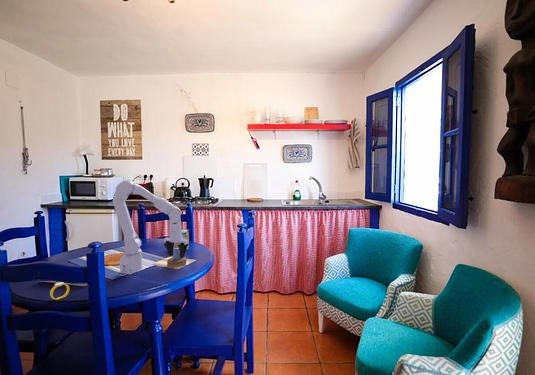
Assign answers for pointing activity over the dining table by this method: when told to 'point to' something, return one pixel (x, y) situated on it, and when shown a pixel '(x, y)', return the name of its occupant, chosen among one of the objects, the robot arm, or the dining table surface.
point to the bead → (176, 262)
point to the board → (164, 264)
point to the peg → (176, 254)
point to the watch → (58, 286)
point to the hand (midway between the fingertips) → (176, 256)
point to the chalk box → (185, 236)
